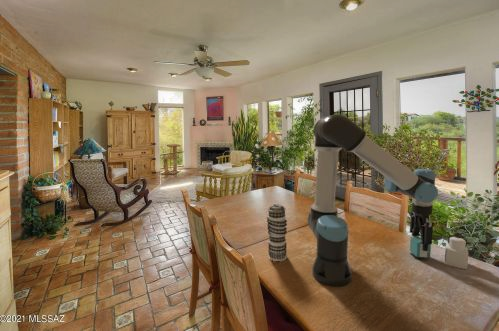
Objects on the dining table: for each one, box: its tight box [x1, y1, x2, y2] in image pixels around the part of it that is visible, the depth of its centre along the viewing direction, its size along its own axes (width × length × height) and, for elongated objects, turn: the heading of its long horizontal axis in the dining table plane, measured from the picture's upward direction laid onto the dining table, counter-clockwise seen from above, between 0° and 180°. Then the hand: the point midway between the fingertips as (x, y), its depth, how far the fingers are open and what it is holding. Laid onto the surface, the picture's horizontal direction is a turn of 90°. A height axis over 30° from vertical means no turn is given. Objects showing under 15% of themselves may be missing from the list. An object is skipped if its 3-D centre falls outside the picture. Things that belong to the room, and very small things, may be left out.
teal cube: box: [409, 236, 432, 258], centre depth 110 cm, size 6×6×7 cm
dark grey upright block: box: [409, 252, 429, 261], centre depth 110 cm, size 5×5×7 cm
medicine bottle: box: [444, 234, 469, 270], centre depth 103 cm, size 7×7×12 cm
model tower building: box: [266, 204, 288, 262], centre depth 113 cm, size 9×9×25 cm
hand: (419, 253), depth 110 cm, fingers closed on teal cube, 6 cm apart
